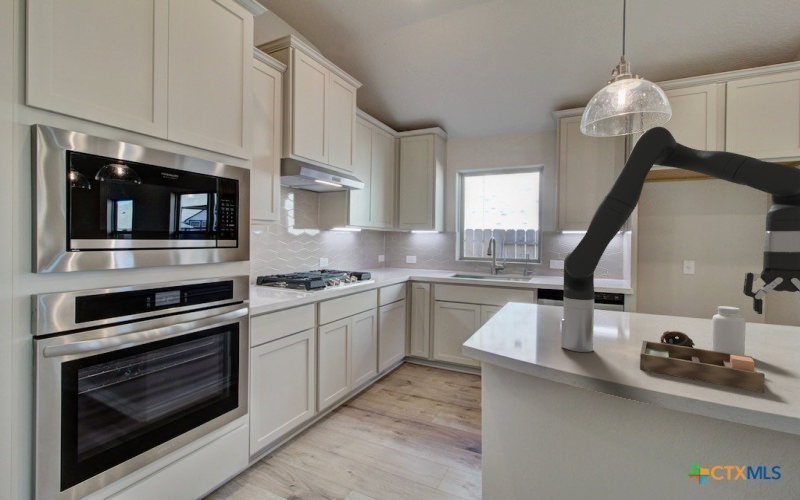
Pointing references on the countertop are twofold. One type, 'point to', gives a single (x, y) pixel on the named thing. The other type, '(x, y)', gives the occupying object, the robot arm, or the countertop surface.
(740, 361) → the terracotta block
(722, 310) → the pill bottle
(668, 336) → the pottery mug
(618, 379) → the countertop surface
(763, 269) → the robot arm
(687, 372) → the box
